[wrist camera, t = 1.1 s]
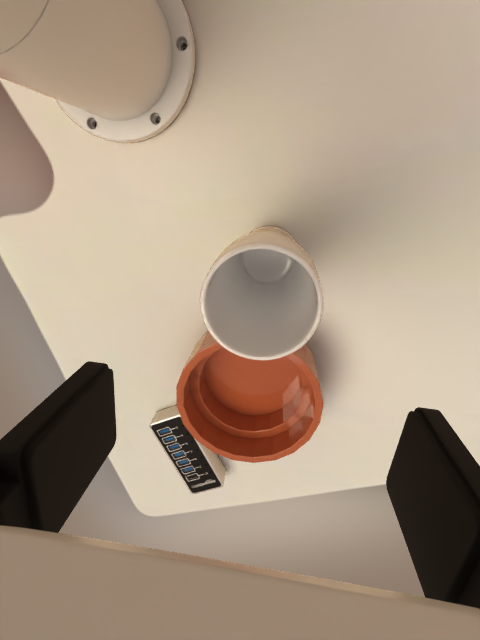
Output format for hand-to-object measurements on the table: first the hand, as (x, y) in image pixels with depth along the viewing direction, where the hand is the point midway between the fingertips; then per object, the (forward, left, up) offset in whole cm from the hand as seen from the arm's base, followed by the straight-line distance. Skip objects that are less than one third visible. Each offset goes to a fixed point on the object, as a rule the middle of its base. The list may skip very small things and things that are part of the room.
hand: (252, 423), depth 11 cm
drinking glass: (-1, 0, -24) cm, 24 cm away
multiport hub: (+14, -19, -24) cm, 33 cm away
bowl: (+9, -8, -23) cm, 26 cm away
